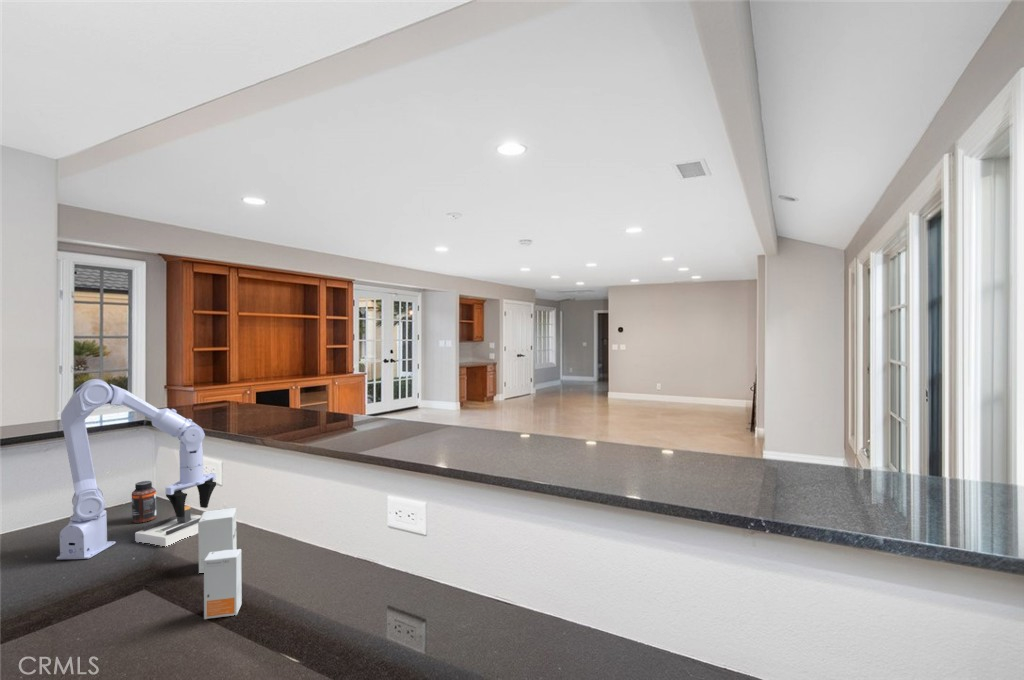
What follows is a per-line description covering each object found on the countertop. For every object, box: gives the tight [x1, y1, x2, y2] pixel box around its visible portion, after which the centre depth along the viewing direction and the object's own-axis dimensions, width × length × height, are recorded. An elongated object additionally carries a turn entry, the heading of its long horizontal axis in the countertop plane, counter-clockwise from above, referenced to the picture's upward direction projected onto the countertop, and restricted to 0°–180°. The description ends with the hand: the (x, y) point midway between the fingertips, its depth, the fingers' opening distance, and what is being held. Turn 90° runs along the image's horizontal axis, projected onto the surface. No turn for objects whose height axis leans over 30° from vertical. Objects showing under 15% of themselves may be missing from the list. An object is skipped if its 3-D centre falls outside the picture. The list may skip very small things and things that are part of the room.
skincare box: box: [203, 548, 243, 620], centre depth 104 cm, size 6×4×12 cm
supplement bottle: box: [131, 480, 157, 524], centre depth 154 cm, size 6×6×11 cm
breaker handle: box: [177, 505, 192, 523], centre depth 145 cm, size 2×3×4 cm, turn 72°
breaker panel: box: [134, 513, 202, 548], centre depth 143 cm, size 15×11×4 cm
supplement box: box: [197, 507, 238, 574], centre depth 124 cm, size 7×7×13 cm
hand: (192, 511), depth 148 cm, fingers open, 7 cm apart
